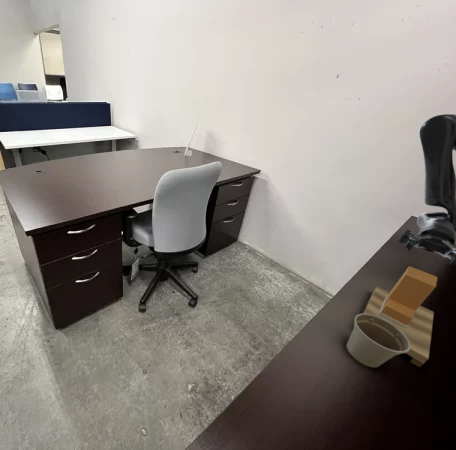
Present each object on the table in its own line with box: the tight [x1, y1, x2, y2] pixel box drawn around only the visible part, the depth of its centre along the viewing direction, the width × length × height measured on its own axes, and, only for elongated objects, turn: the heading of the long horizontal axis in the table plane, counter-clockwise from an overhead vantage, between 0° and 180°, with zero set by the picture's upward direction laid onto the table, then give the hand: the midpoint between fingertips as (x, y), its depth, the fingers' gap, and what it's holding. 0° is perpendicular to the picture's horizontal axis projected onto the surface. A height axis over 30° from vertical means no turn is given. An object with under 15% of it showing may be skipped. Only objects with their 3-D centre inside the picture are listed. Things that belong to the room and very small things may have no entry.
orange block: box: [379, 265, 438, 329], centre depth 60 cm, size 10×5×11 cm, turn 130°
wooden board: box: [362, 286, 435, 368], centre depth 62 cm, size 20×12×4 cm, turn 131°
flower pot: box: [346, 313, 411, 368], centre depth 53 cm, size 9×9×9 cm
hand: (431, 254), depth 65 cm, fingers open, 8 cm apart
